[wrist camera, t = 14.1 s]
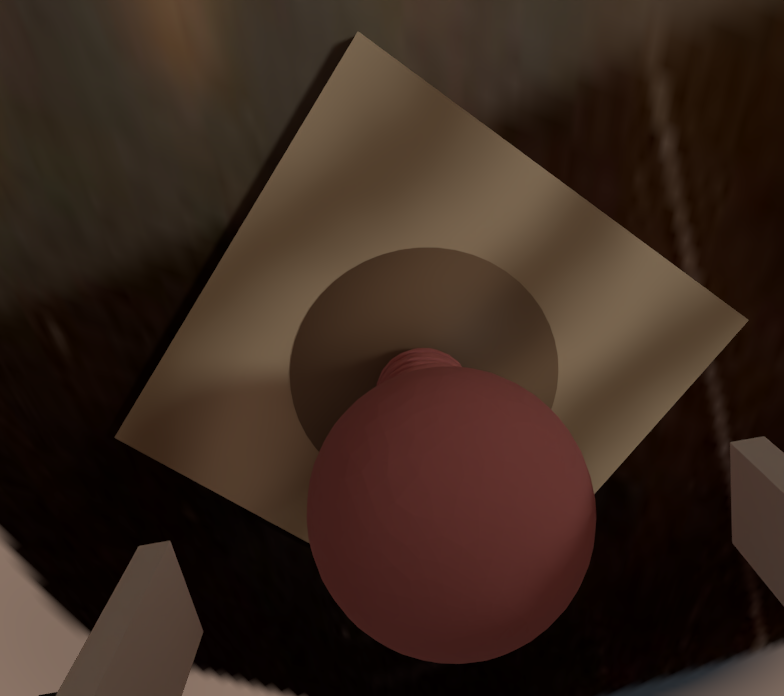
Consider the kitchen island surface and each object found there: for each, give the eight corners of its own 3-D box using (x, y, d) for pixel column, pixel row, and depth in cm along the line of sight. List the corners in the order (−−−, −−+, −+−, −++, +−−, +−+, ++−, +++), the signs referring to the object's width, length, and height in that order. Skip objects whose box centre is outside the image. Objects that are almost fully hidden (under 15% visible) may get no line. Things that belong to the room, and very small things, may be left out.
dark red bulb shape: (463, 249, 23) (544, 383, 12) (554, 408, 25) (696, 651, 14) (293, 349, 24) (217, 559, 13) (393, 494, 26) (404, 783, 15)
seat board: (737, 313, 25) (749, 320, 24) (469, 618, 29) (472, 632, 29) (358, 34, 21) (357, 31, 21) (122, 428, 26) (114, 438, 25)
